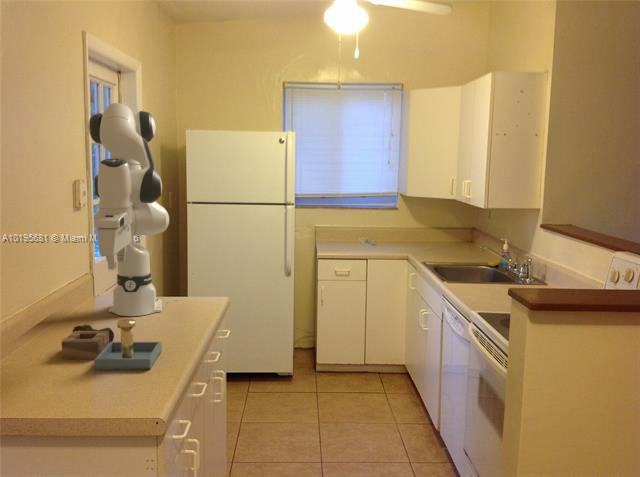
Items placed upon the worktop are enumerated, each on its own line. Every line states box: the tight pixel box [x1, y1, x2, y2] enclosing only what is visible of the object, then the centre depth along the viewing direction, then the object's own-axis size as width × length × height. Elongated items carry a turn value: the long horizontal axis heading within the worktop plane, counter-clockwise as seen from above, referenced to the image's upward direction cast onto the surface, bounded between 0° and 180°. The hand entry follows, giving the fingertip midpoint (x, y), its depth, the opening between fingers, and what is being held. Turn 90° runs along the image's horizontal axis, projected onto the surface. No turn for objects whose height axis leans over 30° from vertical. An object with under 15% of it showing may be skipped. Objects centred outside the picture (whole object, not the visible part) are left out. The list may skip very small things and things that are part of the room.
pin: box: [116, 318, 137, 358], centre depth 159 cm, size 5×5×11 cm
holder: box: [61, 331, 109, 360], centre depth 167 cm, size 10×10×5 cm
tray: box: [94, 341, 163, 371], centre depth 161 cm, size 15×15×3 cm
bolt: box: [72, 324, 115, 343], centre depth 178 cm, size 6×5×15 cm
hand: (116, 265), depth 164 cm, fingers open, 8 cm apart
